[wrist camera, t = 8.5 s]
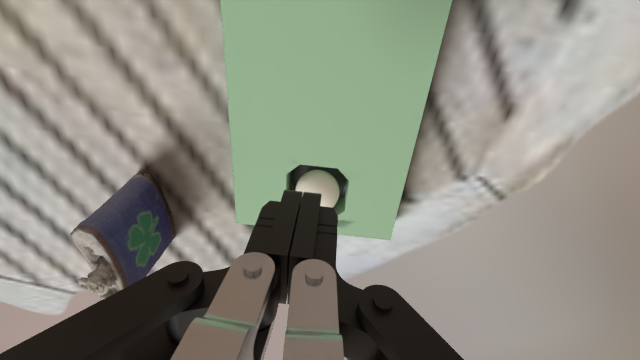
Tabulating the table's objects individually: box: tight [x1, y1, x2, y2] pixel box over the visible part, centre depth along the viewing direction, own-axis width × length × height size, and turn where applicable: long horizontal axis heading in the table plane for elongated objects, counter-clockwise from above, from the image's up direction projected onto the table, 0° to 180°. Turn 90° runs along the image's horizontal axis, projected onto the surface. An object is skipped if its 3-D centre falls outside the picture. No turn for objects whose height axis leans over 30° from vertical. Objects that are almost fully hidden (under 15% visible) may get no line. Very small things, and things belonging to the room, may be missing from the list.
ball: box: [295, 170, 339, 208], centre depth 29 cm, size 4×4×4 cm
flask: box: [71, 173, 175, 299], centre depth 30 cm, size 9×3×11 cm, turn 1°
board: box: [221, 0, 452, 240], centre depth 27 cm, size 21×15×2 cm
